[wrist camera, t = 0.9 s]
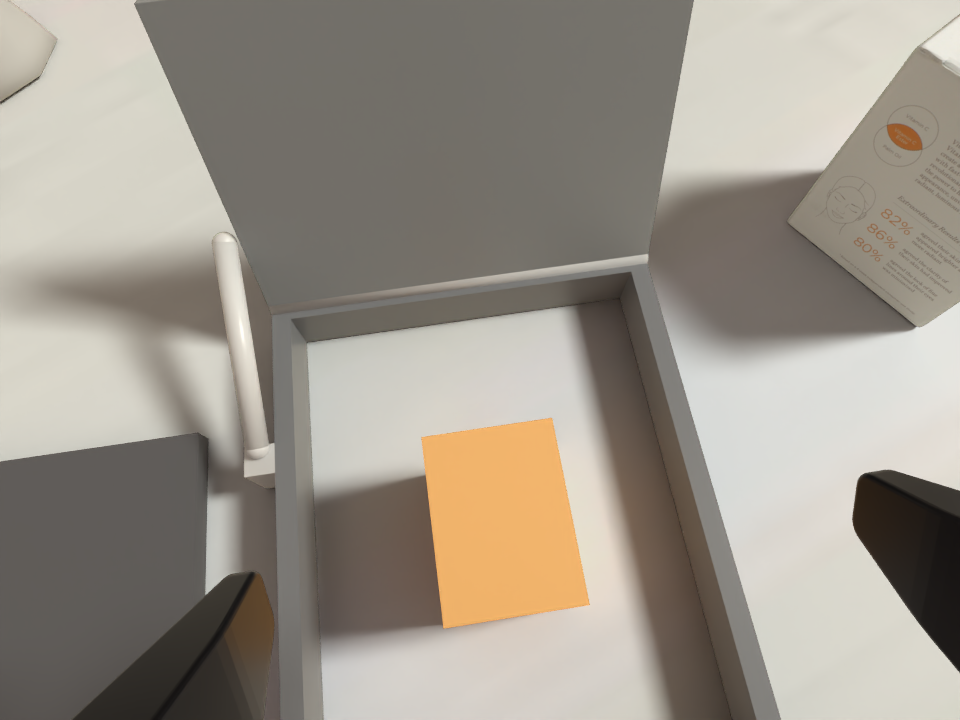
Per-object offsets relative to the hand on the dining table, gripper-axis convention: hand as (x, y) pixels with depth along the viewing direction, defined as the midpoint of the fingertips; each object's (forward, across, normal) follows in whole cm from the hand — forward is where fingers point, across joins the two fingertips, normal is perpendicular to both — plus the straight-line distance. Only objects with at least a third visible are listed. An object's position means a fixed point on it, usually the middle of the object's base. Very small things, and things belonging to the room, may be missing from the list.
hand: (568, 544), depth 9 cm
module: (+13, 0, +10) cm, 17 cm away
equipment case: (+15, +1, +8) cm, 17 cm away
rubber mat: (+14, +18, +10) cm, 25 cm away
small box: (+21, -21, +2) cm, 29 cm away
